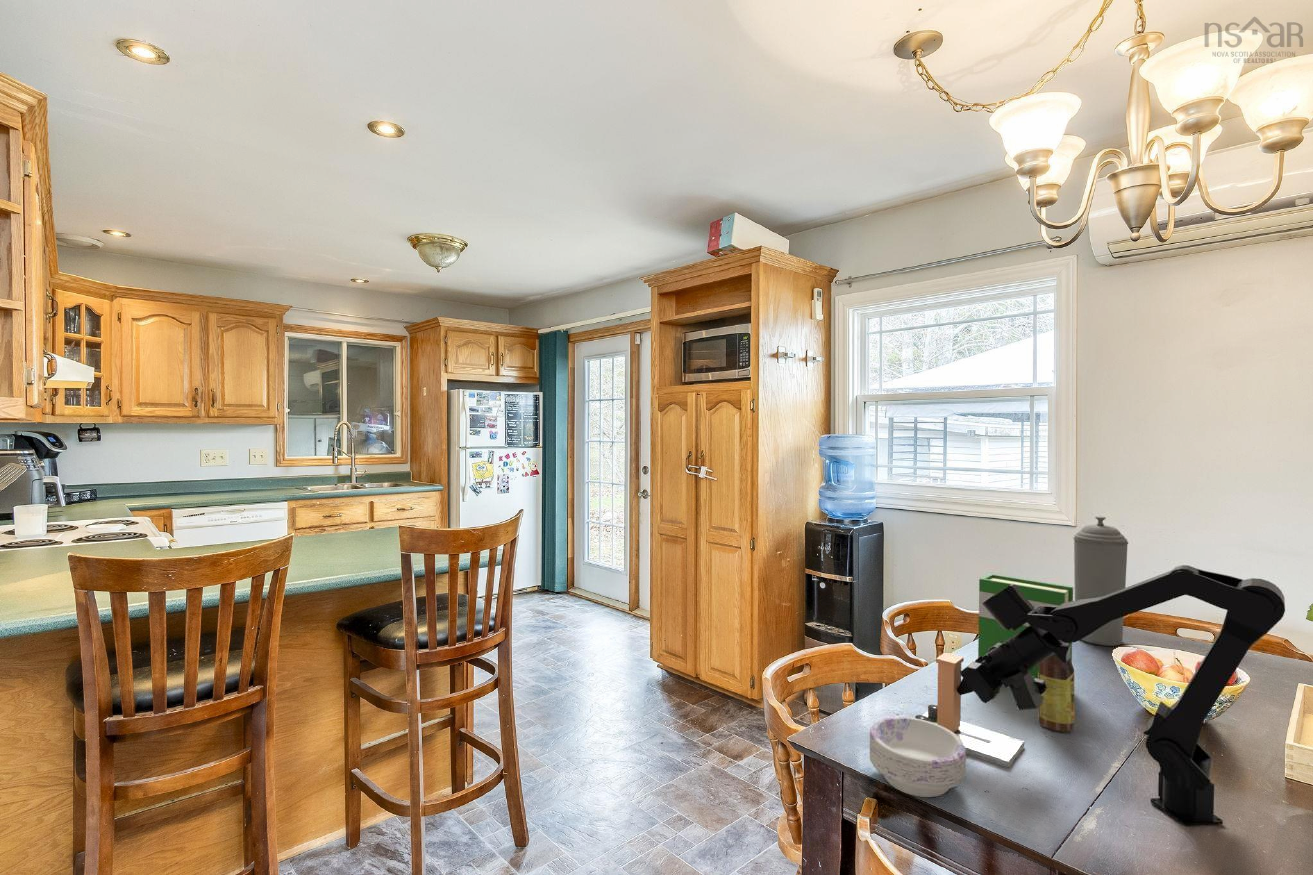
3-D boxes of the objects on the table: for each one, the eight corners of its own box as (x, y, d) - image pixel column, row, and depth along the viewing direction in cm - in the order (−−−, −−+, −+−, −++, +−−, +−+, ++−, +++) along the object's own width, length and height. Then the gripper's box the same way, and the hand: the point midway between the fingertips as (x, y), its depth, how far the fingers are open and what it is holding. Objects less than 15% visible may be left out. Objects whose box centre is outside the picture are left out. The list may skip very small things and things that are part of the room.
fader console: (1024, 747, 121) (1024, 730, 121) (1008, 767, 114) (1008, 750, 114) (927, 716, 134) (927, 701, 133) (907, 733, 126) (908, 717, 126)
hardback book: (1071, 691, 146) (1073, 586, 146) (1062, 701, 141) (1064, 593, 141) (988, 669, 159) (990, 573, 158) (977, 677, 154) (979, 578, 153)
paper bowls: (960, 820, 99) (960, 769, 99) (859, 790, 107) (860, 743, 107) (969, 773, 112) (970, 729, 112) (879, 750, 120) (880, 708, 120)
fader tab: (962, 726, 126) (963, 657, 126) (954, 734, 123) (955, 663, 123) (943, 720, 129) (944, 652, 128) (935, 728, 125) (935, 658, 125)
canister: (1135, 650, 173) (1138, 520, 172) (1082, 646, 176) (1084, 519, 175) (1113, 634, 185) (1116, 514, 184) (1064, 631, 188) (1066, 512, 187)
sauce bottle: (1079, 735, 126) (1081, 634, 125) (1044, 732, 127) (1046, 632, 127) (1065, 720, 132) (1067, 624, 132) (1032, 717, 133) (1034, 622, 133)
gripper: (1045, 708, 106) (973, 749, 114) (1071, 676, 119) (1004, 714, 127) (995, 649, 111) (929, 692, 119) (1025, 624, 124) (964, 664, 132)
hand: (958, 692), depth 124 cm, fingers closed, pressing on fader tab
